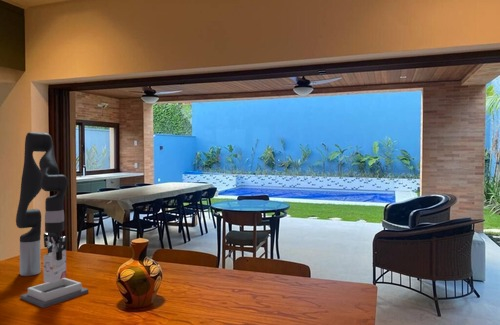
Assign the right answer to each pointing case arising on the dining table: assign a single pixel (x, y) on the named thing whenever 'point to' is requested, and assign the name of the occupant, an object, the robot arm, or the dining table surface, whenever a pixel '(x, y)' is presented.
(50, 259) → the ink cartridge box
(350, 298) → the dining table surface
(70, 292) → the cartridge holder
